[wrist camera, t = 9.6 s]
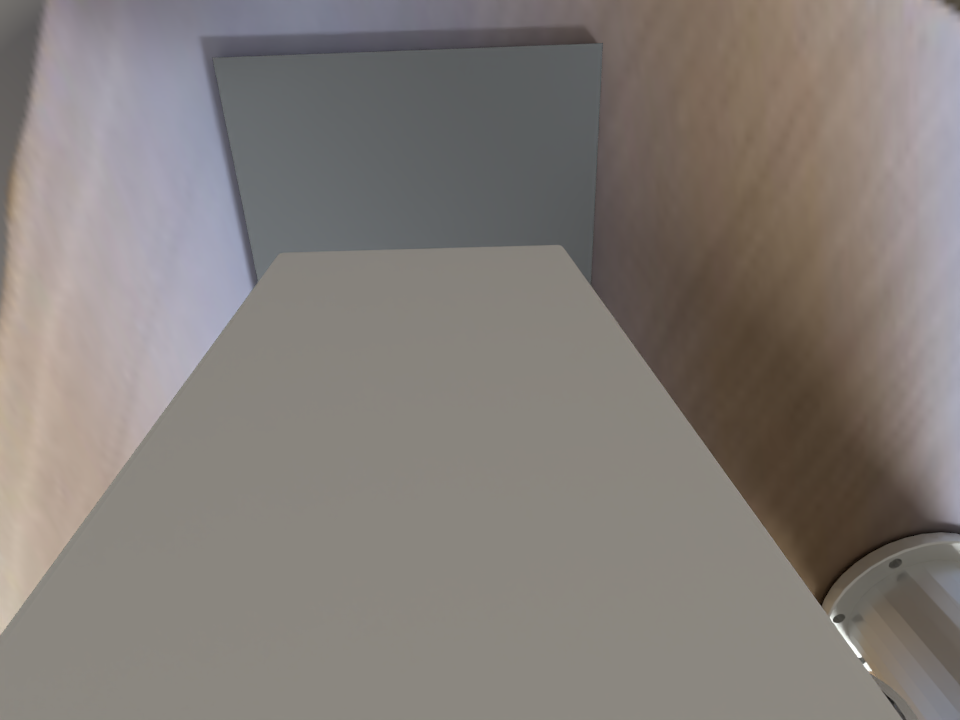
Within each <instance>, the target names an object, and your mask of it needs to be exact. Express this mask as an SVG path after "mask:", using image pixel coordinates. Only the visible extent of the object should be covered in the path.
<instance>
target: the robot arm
mask: <svg viewBox="0 0 960 720" xmlns="http://www.w3.org/2000/svg"><path fill="white" fill-rule="evenodd" d="M822 608H823V610H824V611H825V612H826V614H827V615H828V616H829V618H830V619H831V621H832V622H833V623H834V625H835V626H836V628H837V629H838V630H839V632H840V633H841V635H842V636H843V637H844V639H845V640H846V642H847V643H848V644H849V646H850V647H851V649H852V650H853V651H854V653H855V654H856V655H857V657H858V658H859V660H860V661H861V662H862V664H863V665H864V667H865V668H866V669H867V670H868V671H873V673H874V674H875V676H876V677H877V678H876V677H875V676H873V675H872V674H870V675H871V676H872V678H873V679H874V681H875V682H876V683H877V685H878V686H879V687H880V689H881V690H882V692H883V693H884V694H885V696H886V697H887V699H888V700H889V701H890V703H891V704H892V706H893V707H894V708H895V710H896V711H897V713H898V714H899V715H900V717H901V718H902V719H903V720H960V534H956V533H943V532H938V533H927V534H919V535H915V536H911V537H906V538H903V539H900V540H897V541H895V542H892V543H889V544H887V545H885V546H883V547H881V548H879V549H877V550H875V551H873V552H871V553H869V554H868V555H866V556H865V557H863V558H862V559H860V560H859V561H857V562H856V563H855V564H854V565H852V566H851V567H850V568H849V569H848V570H847V571H846V572H844V573H843V574H842V575H841V576H840V578H839V579H838V580H837V581H836V582H835V583H834V585H833V586H832V587H831V589H830V590H829V592H828V594H827V595H826V597H825V599H824V601H823V604H822Z"/></svg>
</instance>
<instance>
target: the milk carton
mask: <svg viewBox="0 0 960 720" xmlns="http://www.w3.org/2000/svg"><path fill="white" fill-rule="evenodd" d="M0 720H903V719H902V718H901V717H900V715H899V714H898V713H897V711H896V710H895V708H894V707H893V706H892V704H891V703H890V701H889V700H888V699H887V697H886V696H885V694H884V693H883V692H882V690H881V689H880V687H879V686H878V685H877V683H876V682H875V681H874V679H873V678H872V676H871V675H870V674H869V672H868V671H867V669H866V668H865V667H864V665H863V664H862V662H861V661H860V660H859V658H858V657H857V655H856V654H855V653H854V651H853V650H852V649H851V647H850V646H849V644H848V643H847V642H846V640H845V639H844V637H843V636H842V635H841V633H840V632H839V630H838V629H837V628H836V626H835V625H834V623H833V622H832V621H831V619H830V618H829V616H828V615H827V614H826V612H825V611H824V610H823V608H822V607H821V605H820V604H819V603H818V601H817V600H816V598H815V597H814V596H813V594H812V593H811V591H810V590H809V589H808V587H807V586H806V584H805V583H804V582H803V580H802V579H801V578H800V576H799V575H798V573H797V572H796V571H795V569H794V568H793V566H792V565H791V564H790V562H789V561H788V559H787V558H786V557H785V555H784V554H783V552H782V551H781V550H780V548H779V547H778V546H777V544H776V543H775V541H774V540H773V539H772V537H771V536H770V534H769V533H768V532H767V530H766V529H765V527H764V526H763V525H762V523H761V522H760V520H759V519H758V518H757V516H756V515H755V514H754V512H753V511H752V509H751V508H750V507H749V505H748V504H747V502H746V501H745V500H744V498H743V497H742V495H741V494H740V493H739V491H738V490H737V488H736V487H735V486H734V484H733V483H732V481H731V480H730V479H729V477H728V476H727V475H726V473H725V472H724V470H723V469H722V468H721V466H720V465H719V463H718V462H717V461H716V459H715V458H714V456H713V455H712V454H711V452H710V451H709V449H708V448H707V447H706V445H705V444H704V443H703V441H702V440H701V438H700V437H699V436H698V434H697V433H696V431H695V430H694V429H693V427H692V426H691V424H690V423H689V422H688V420H687V419H686V417H685V416H684V415H683V413H682V412H681V411H680V409H679V408H678V406H677V405H676V404H675V402H674V401H673V399H672V398H671V397H670V395H669V394H668V392H667V391H666V390H665V388H664V387H663V385H662V384H661V383H660V381H659V380H658V379H657V377H656V376H655V374H654V373H653V372H652V370H651V369H650V367H649V366H648V365H647V363H646V362H645V360H644V359H643V358H642V356H641V355H640V353H639V352H638V351H637V349H636V348H635V347H634V345H633V344H632V342H631V341H630V340H629V338H628V337H627V335H626V334H625V333H624V331H623V330H622V328H621V327H620V326H619V324H618V323H617V321H616V320H615V319H614V317H613V316H612V314H611V313H610V312H609V310H608V309H607V308H606V306H605V305H604V303H603V302H602V301H601V299H600V298H599V296H598V295H597V294H596V292H595V291H594V289H593V288H592V287H591V285H590V284H589V282H588V281H587V280H586V278H585V277H584V276H583V274H582V273H581V271H580V270H579V269H578V267H577V266H576V264H575V263H574V262H573V260H572V259H571V257H570V256H569V255H568V253H567V252H566V250H565V249H564V248H563V247H562V246H561V245H537V246H501V247H466V248H430V249H395V250H359V251H324V252H289V253H280V254H279V255H278V256H277V257H276V258H275V260H274V261H273V262H272V264H271V265H270V267H269V268H268V269H267V271H266V272H265V273H264V275H263V276H262V278H261V279H260V280H259V282H258V283H257V284H256V286H255V287H254V288H253V290H252V291H251V293H250V294H249V295H248V297H247V298H246V299H245V301H244V302H243V304H242V305H241V306H240V308H239V309H238V310H237V312H236V313H235V315H234V316H233V317H232V319H231V320H230V321H229V323H228V324H227V326H226V327H225V328H224V330H223V331H222V332H221V334H220V335H219V336H218V338H217V339H216V341H215V342H214V343H213V345H212V346H211V347H210V349H209V350H208V352H207V353H206V354H205V356H204V357H203V358H202V360H201V361H200V363H199V364H198V365H197V367H196V368H195V369H194V371H193V372H192V373H191V375H190V376H189V378H188V379H187V380H186V382H185V383H184V384H183V386H182V387H181V389H180V390H179V391H178V393H177V394H176V395H175V397H174V398H173V400H172V401H171V402H170V404H169V405H168V406H167V408H166V409H165V411H164V412H163V413H162V415H161V416H160V417H159V419H158V420H157V421H156V423H155V424H154V426H153V427H152V428H151V430H150V431H149V432H148V434H147V435H146V437H145V438H144V439H143V441H142V442H141V443H140V445H139V446H138V448H137V449H136V450H135V452H134V453H133V454H132V456H131V457H130V459H129V460H128V461H127V463H126V464H125V465H124V467H123V468H122V469H121V471H120V472H119V474H118V475H117V476H116V478H115V479H114V480H113V482H112V483H111V485H110V486H109V487H108V489H107V490H106V491H105V493H104V494H103V496H102V497H101V498H100V500H99V501H98V502H97V504H96V505H95V507H94V508H93V509H92V511H91V512H90V513H89V515H88V516H87V517H86V519H85V520H84V522H83V523H82V524H81V526H80V527H79V528H78V530H77V531H76V533H75V534H74V535H73V537H72V538H71V539H70V541H69V542H68V544H67V545H66V546H65V548H64V549H63V550H62V552H61V553H60V555H59V556H58V557H57V559H56V560H55V561H54V563H53V564H52V565H51V567H50V568H49V570H48V571H47V572H46V574H45V575H44V576H43V578H42V579H41V581H40V582H39V583H38V585H37V586H36V587H35V589H34V590H33V592H32V593H31V594H30V596H29V597H28V598H27V600H26V601H25V603H24V604H23V605H22V607H21V608H20V609H19V611H18V612H17V613H16V615H15V616H14V618H13V619H12V620H11V622H10V623H9V624H8V626H7V627H6V629H5V630H4V631H3V633H2V634H1V635H0Z"/></svg>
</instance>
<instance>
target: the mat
mask: <svg viewBox="0 0 960 720" xmlns="http://www.w3.org/2000/svg"><path fill="white" fill-rule="evenodd" d="M602 49H603V43H595V44H568V45H541V46H515V47H488V48H461V49H434V50H407V51H380V52H353V53H326V54H299V55H272V56H245V57H218V58H212V59H213V64H214V69H215V73H216V78H217V83H218V88H219V93H220V98H221V103H222V108H223V113H224V118H225V122H226V127H227V132H228V137H229V142H230V147H231V152H232V157H233V162H234V167H235V171H236V176H237V181H238V186H239V191H240V196H241V201H242V206H243V211H244V215H245V220H246V225H247V230H248V235H249V240H250V245H251V250H252V255H253V260H254V264H255V269H256V274H257V279H258V282H259V280H260V279H261V278H262V276H263V275H264V273H265V272H266V271H267V269H268V268H269V267H270V265H271V264H272V262H273V261H274V260H275V258H276V257H277V256H278V255H279V254H280V253H289V252H324V251H359V250H395V249H430V248H466V247H501V246H537V245H561V246H562V247H563V248H564V249H565V250H566V252H567V253H568V255H569V256H570V257H571V259H572V260H573V262H574V263H575V264H576V266H577V267H578V269H579V270H580V271H581V273H582V274H583V276H584V277H585V278H586V280H587V281H588V282H589V284H590V285H591V272H592V252H593V232H594V211H595V191H596V171H597V151H598V130H599V110H600V90H601V69H602Z"/></svg>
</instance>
